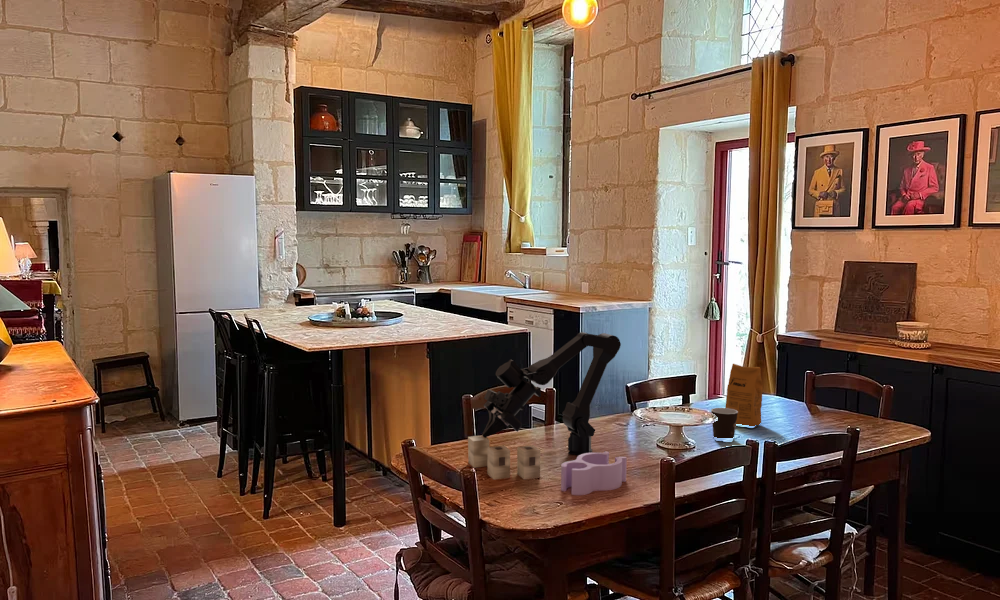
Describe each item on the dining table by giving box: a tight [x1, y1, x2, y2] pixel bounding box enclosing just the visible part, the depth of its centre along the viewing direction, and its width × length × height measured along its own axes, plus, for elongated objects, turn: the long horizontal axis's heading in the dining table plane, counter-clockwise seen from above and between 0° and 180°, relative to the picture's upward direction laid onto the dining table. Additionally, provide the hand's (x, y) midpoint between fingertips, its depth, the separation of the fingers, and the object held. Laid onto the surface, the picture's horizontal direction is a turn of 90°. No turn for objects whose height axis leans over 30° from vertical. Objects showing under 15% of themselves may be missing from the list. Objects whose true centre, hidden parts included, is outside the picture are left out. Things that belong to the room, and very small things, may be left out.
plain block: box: [467, 434, 490, 469], centre depth 222 cm, size 5×5×8 cm
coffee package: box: [724, 363, 764, 426], centre depth 269 cm, size 10×12×22 cm
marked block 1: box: [486, 445, 511, 480], centre depth 212 cm, size 5×5×8 cm
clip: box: [560, 451, 628, 496], centre depth 205 cm, size 20×12×7 cm, turn 130°
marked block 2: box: [516, 444, 541, 480], centre depth 212 cm, size 5×5×8 cm
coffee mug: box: [710, 407, 738, 438], centre depth 251 cm, size 12×9×10 cm
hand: (483, 436), depth 222 cm, fingers closed, pressing on plain block
